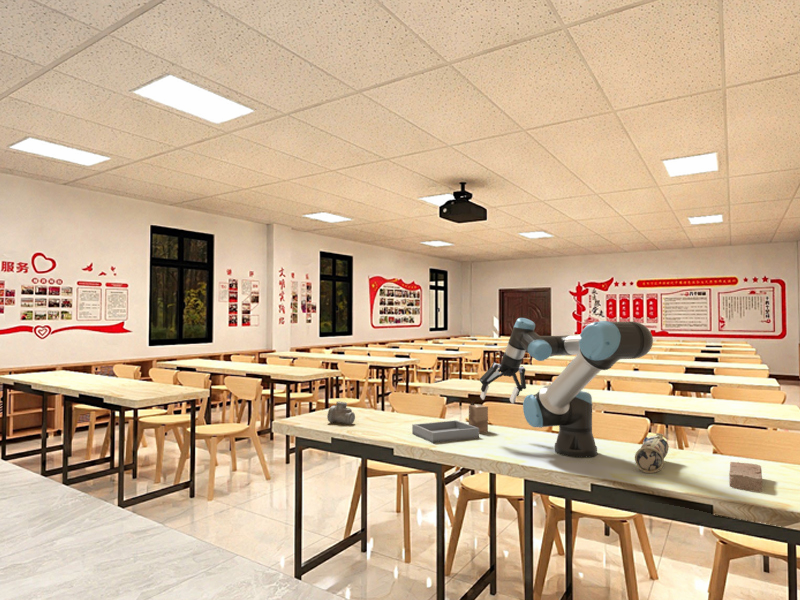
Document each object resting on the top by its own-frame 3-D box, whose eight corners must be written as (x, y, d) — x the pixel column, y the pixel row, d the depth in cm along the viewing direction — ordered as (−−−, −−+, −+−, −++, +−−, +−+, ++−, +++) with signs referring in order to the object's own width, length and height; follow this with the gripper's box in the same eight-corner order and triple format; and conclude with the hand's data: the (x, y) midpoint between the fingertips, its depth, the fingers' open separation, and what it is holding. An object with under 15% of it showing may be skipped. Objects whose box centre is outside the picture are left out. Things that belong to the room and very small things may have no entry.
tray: (479, 437, 220) (479, 428, 220) (433, 443, 211) (433, 432, 211) (456, 429, 237) (456, 420, 237) (412, 433, 227) (412, 424, 227)
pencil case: (642, 458, 191) (642, 430, 191) (669, 461, 186) (668, 433, 187) (634, 473, 172) (634, 443, 172) (663, 477, 168) (663, 446, 168)
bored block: (487, 431, 232) (487, 406, 232) (476, 433, 229) (476, 407, 230) (479, 429, 237) (480, 404, 238) (468, 430, 235) (468, 405, 235)
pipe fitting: (325, 422, 247) (328, 400, 248) (334, 421, 254) (338, 399, 255) (346, 428, 241) (349, 406, 242) (355, 426, 248) (359, 404, 249)
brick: (762, 493, 153) (762, 477, 154) (728, 488, 158) (728, 472, 158) (761, 479, 167) (761, 464, 167) (730, 475, 172) (730, 460, 172)
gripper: (537, 354, 218) (520, 398, 225) (482, 346, 211) (466, 391, 218) (545, 363, 211) (527, 408, 219) (488, 355, 204) (472, 401, 212)
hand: (496, 400), depth 218 cm, fingers open, 13 cm apart
